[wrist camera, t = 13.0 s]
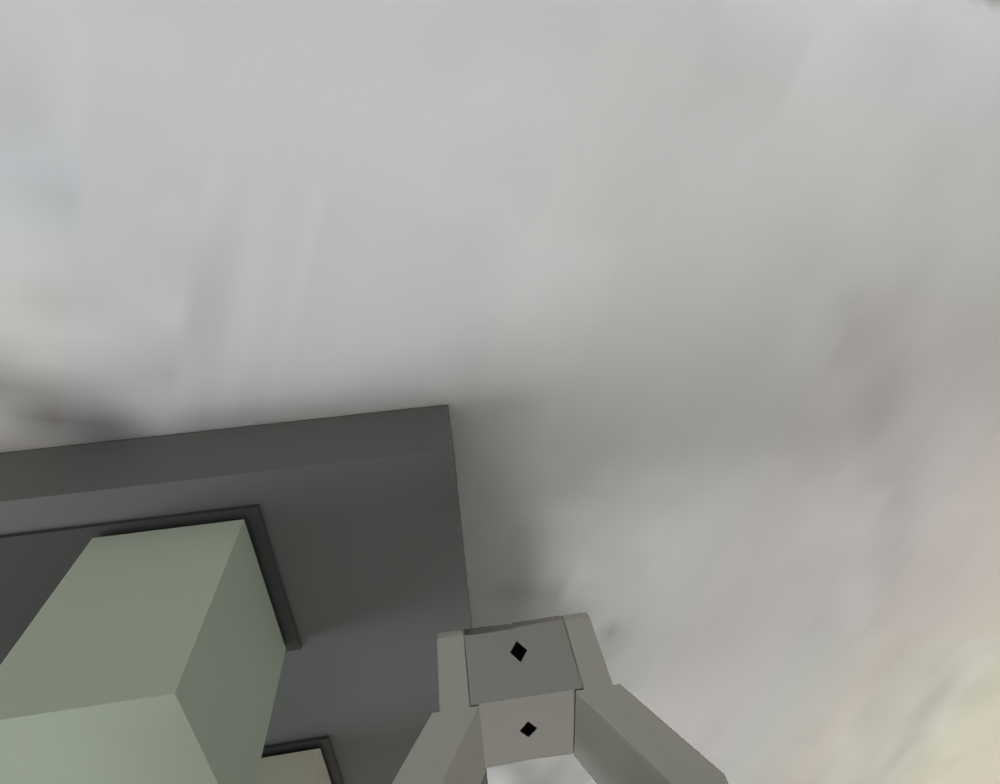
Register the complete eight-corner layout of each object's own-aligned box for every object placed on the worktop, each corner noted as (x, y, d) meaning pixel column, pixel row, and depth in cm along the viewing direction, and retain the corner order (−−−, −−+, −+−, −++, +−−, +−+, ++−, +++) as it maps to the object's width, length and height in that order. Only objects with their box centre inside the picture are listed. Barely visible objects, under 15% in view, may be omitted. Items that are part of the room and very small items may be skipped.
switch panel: (-275, 878, 18) (-353, 967, 16) (-740, 533, 12) (-958, 616, 10) (483, 750, 20) (491, 815, 19) (448, 404, 14) (453, 452, 12)
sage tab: (155, 668, 14) (66, 868, 10) (92, 538, 12) (-45, 726, 8) (286, 649, 14) (243, 836, 10) (244, 519, 12) (174, 692, 9)
